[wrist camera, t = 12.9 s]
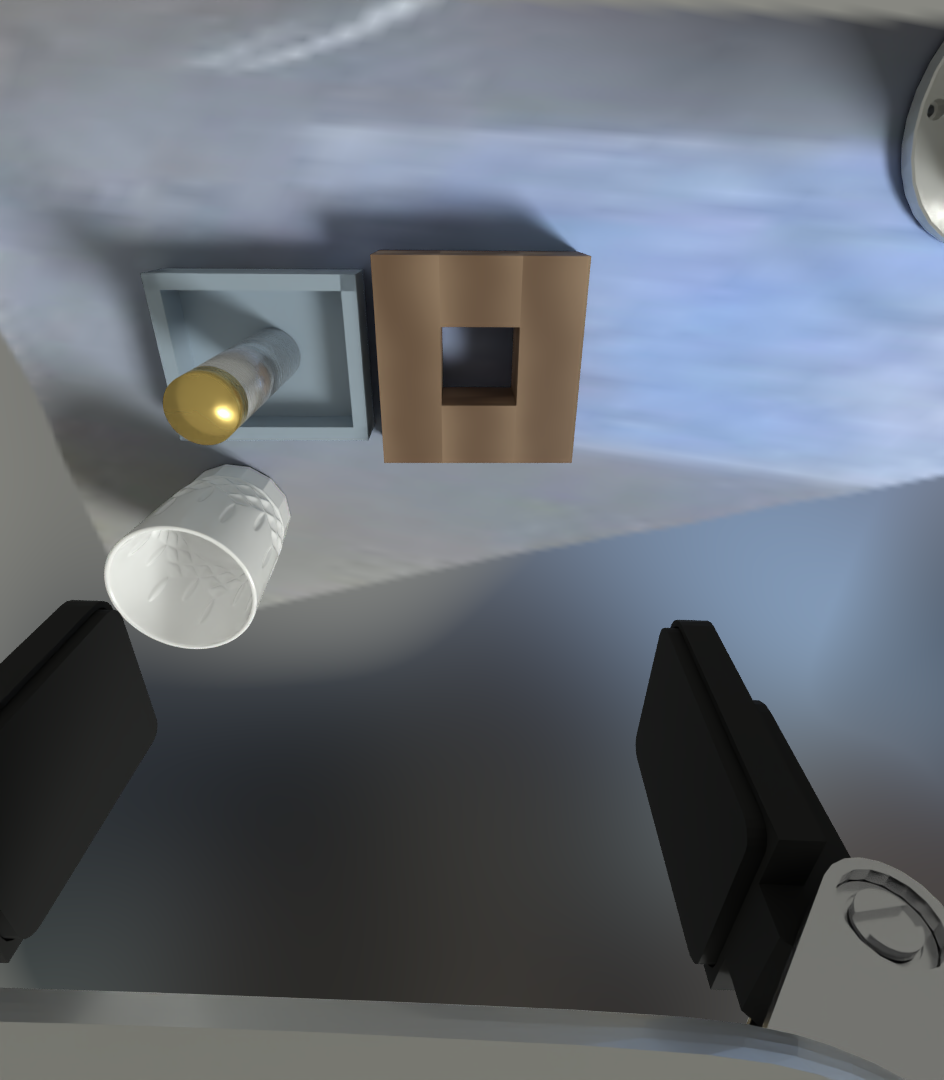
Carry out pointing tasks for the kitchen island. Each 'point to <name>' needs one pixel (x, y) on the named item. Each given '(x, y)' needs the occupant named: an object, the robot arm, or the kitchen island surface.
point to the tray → (284, 303)
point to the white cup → (201, 559)
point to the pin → (230, 386)
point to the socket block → (479, 301)
